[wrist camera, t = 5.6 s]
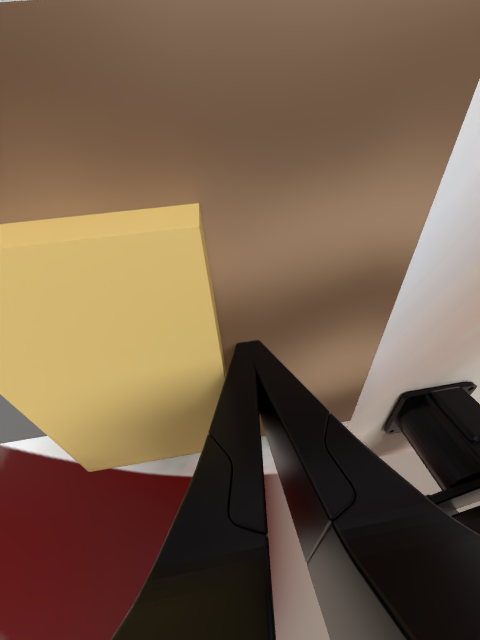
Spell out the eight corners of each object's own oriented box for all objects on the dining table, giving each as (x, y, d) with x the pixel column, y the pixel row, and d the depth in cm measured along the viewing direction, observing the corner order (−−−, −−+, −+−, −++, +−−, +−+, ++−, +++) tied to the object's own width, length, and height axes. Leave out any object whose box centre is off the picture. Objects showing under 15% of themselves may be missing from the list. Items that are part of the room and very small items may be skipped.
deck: (323, 369, 17) (350, 420, 14) (156, 396, 17) (146, 456, 14) (388, 36, 8) (522, -35, 4) (-8, 69, 7) (-178, 14, 4)
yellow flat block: (231, 404, 12) (236, 446, 10) (104, 425, 11) (89, 471, 10) (198, 203, 6) (199, 226, 5) (-53, 229, 6) (-147, 265, 4)
